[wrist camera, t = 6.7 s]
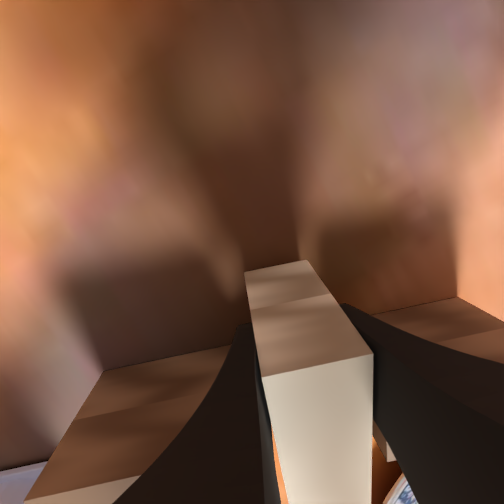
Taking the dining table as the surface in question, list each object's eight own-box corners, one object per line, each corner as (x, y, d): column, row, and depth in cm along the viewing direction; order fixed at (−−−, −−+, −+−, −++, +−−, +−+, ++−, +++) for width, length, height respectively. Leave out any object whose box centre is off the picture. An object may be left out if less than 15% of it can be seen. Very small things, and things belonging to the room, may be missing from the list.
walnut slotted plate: (116, 400, 15) (47, 539, 9) (103, 371, 15) (23, 501, 9) (456, 327, 16) (587, 416, 10) (457, 297, 15) (598, 373, 9)
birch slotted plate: (273, 414, 16) (299, 553, 11) (243, 272, 12) (261, 377, 7) (320, 404, 17) (370, 536, 11) (306, 259, 13) (373, 353, 7)
